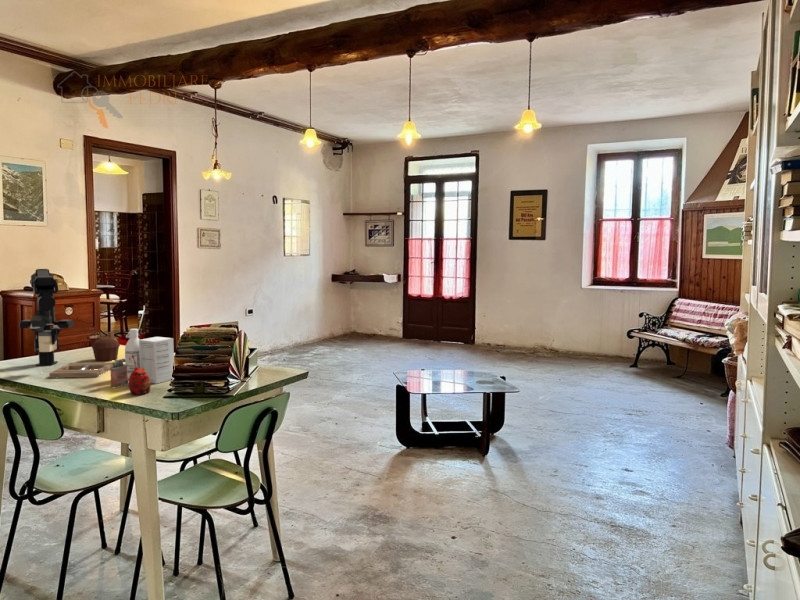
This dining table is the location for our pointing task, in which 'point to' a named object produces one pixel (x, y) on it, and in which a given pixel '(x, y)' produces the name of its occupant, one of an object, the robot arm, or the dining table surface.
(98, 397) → the dining table surface
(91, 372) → the wooden frame
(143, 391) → the red clay folk toy
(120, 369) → the lighter
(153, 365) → the supplement box
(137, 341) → the bath foam
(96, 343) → the muffin
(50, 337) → the block
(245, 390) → the dining table surface
